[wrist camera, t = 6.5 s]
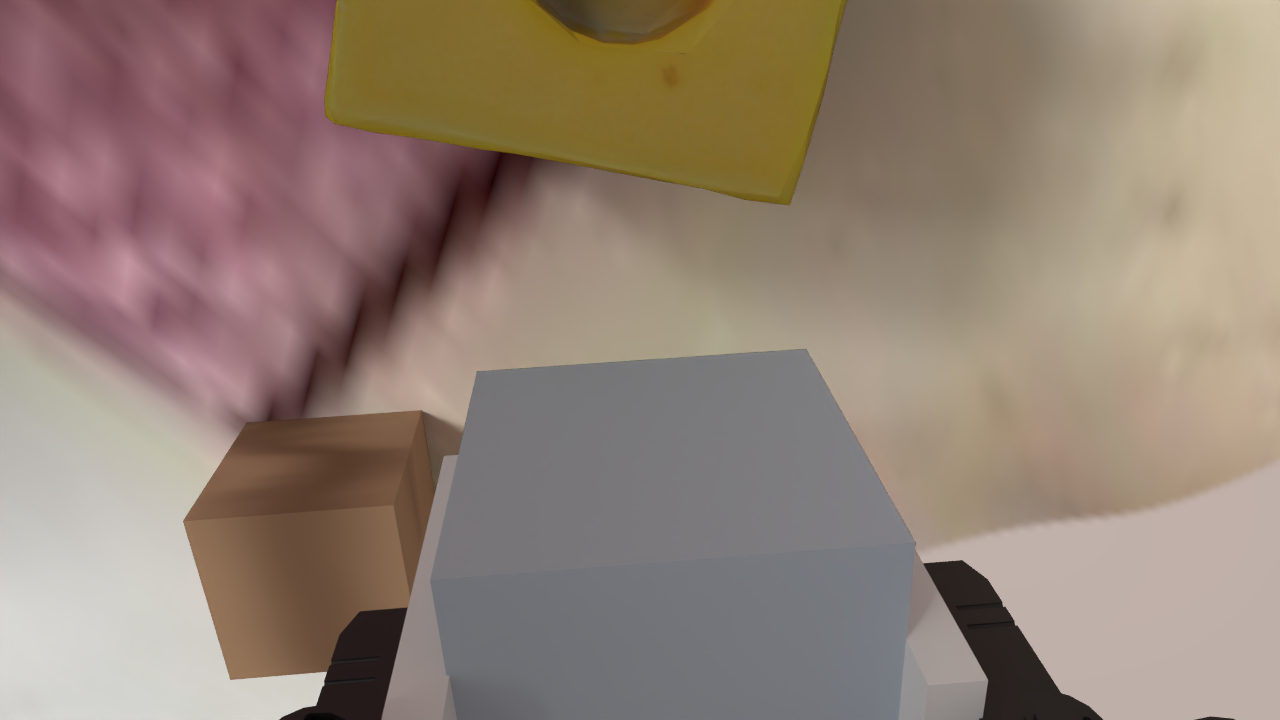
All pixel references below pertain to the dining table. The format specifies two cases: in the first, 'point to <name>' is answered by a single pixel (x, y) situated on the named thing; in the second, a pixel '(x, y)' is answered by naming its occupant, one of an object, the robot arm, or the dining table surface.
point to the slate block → (669, 548)
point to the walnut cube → (309, 534)
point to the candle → (596, 82)
